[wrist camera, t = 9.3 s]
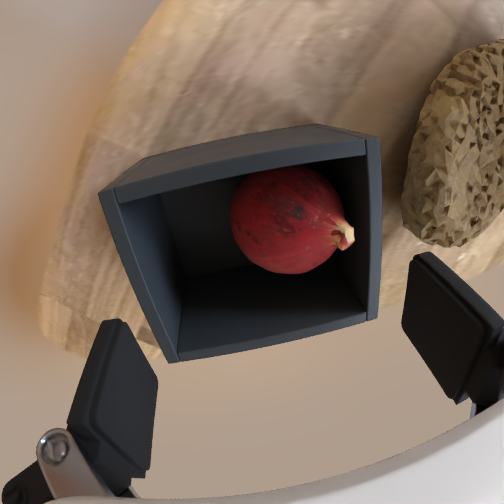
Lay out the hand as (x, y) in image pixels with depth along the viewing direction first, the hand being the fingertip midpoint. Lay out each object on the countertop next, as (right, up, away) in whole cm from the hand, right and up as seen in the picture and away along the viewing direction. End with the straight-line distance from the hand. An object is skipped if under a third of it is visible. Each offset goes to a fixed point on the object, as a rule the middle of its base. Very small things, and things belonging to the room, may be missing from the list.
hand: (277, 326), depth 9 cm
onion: (-1, +5, +10) cm, 11 cm away
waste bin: (-1, +5, +11) cm, 12 cm away
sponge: (+16, +13, +10) cm, 23 cm away
